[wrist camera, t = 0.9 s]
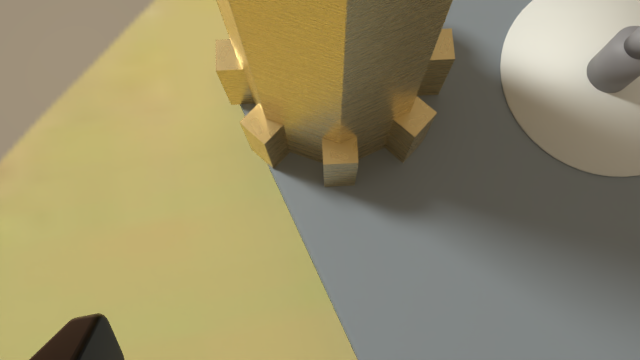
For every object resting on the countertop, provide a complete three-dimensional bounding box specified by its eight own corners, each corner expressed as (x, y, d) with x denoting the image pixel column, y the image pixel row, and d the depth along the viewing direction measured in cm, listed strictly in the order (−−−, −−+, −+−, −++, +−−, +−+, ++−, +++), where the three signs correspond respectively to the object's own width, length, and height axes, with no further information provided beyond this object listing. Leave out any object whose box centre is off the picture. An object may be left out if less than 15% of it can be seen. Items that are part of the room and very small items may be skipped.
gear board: (1034, 423, 19) (1221, 450, 15) (521, 714, 18) (578, 831, 14) (646, -112, 25) (707, -198, 21) (224, 70, 23) (201, 16, 19)
